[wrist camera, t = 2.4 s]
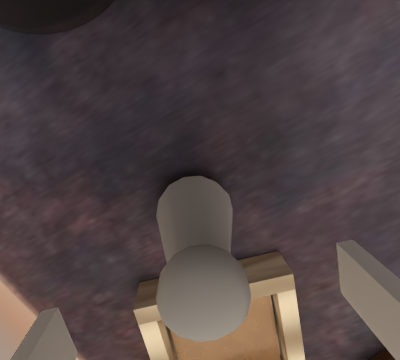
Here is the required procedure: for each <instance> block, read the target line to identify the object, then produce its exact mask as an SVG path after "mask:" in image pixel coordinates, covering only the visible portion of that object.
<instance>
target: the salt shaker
mask: <svg viewBox="0 0 400 360" xmlns="http://www.w3.org/2000/svg"><path fill="white" fill-rule="evenodd" d="M232 215H233V209H232V205H231V201H230V197H229V194H228V193H227V192H226V191H225V190H224V189H223V188H222V187H221V186H220V185H219V184H218V183H217V182H215V181H213V180H210V179H208V178H205V177H203V176H190V177H183V178H181V179H179V180H177V181H175V182H174V183H172V184H170V185H169V186H168V187H167V189H166V190H165V192H164V193H163V194H162V196H161V197H160V199H159V200H158V208H157V215H156V217H157V222H158V226H159V231H160V235H161V240H162V244H163V249H164V253H165V258H166V262H167V264H166V265H165V267H164V268H163V269H162V271H161V272H160V277H159V283H158V289H157V295H156V302H157V309H158V311H159V313H160V316H161V318H162V320H163V323H164V325H166V326H167V327H168V328H169V329H170V330H171V331H173V332H174V333H175V334H176V335H177V336H179V337H183V338H186V339H190V340H194V341H198V342H201V341H212V340H217V339H219V338H221V337H223V336H225V335H227V334H229V333H231V332H233V331H235V330H236V328H237V327H238V326H239V325H240V324H241V323H242V322H243V321H244V319H245V318H246V317H247V315H248V311H249V307H250V302H251V291H250V287H249V283H248V279H247V275H246V272H245V270H244V268H243V266H242V264H241V263H240V262H239V261H238V260H236V259H235V258H234V257H233V256H232V255H231V254H230V249H231V232H232Z"/></svg>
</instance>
